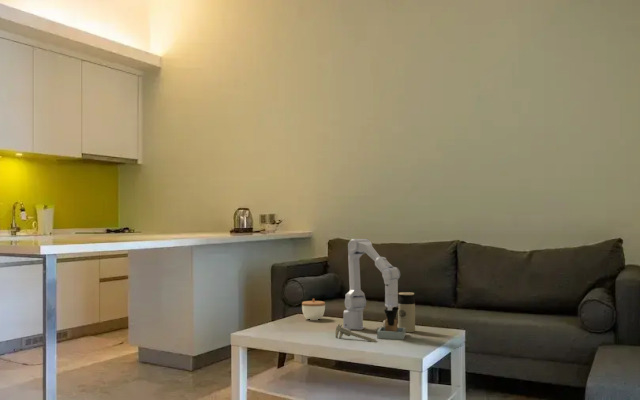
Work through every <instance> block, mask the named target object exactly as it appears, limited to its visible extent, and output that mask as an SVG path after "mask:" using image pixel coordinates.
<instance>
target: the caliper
mask: <svg viewBox="0 0 640 400" xmlns="http://www.w3.org/2000/svg"><path fill="white" fill-rule="evenodd" d="M343 335H344V336H347V337H350V336H353V337H355V338H359V339H362V340H364V341H365V340H366V341H369V342H371V343H378V342H379V341H378V340H376V338H373V337H370V336H367V335H365V334H361V333H358V332H355V331H352V329H346V328H343V324H341V325H340V323H339V324H337V326H336V328H335V338H336V337H337V338H338V337H339V339H341V338H342V337H343Z"/></svg>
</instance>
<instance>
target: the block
mask: <svg viewBox="0 0 640 400" xmlns="http://www.w3.org/2000/svg"><path fill="white" fill-rule="evenodd" d="M384 320H385V331H390V332H397V330H398V318H396V319H394V325H393V326H391V325H388V320H387V318H385V319H384Z"/></svg>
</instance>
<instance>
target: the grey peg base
mask: <svg viewBox="0 0 640 400" xmlns="http://www.w3.org/2000/svg"><path fill="white" fill-rule="evenodd" d="M385 320H386V319H384V320H383V321H382V322H383V326H382V327H385ZM380 327H381V326H378V327H377V328H376V329H375V333H377V331H378V330H379V328H380Z"/></svg>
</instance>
